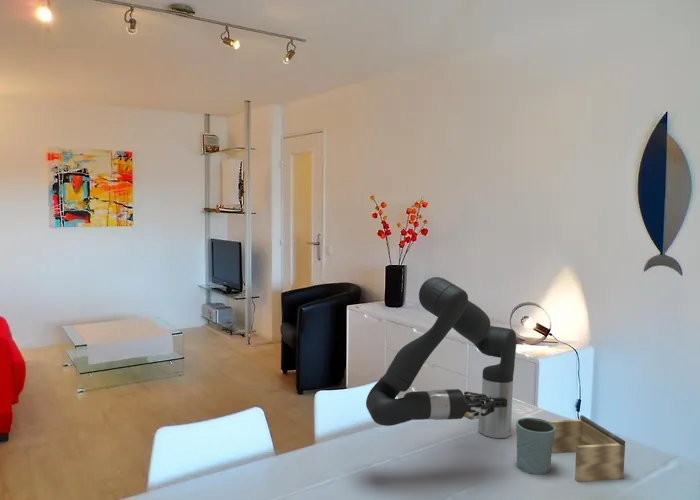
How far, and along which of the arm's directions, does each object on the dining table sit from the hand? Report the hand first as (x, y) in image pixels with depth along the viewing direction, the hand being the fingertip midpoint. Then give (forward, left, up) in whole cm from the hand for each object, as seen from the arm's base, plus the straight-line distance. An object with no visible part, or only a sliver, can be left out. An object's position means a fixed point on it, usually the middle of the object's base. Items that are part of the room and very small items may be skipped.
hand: (505, 402), depth 150 cm
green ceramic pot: (+7, +6, -19) cm, 21 cm away
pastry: (-22, +35, -19) cm, 45 cm away
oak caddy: (+16, +15, -18) cm, 29 cm away
